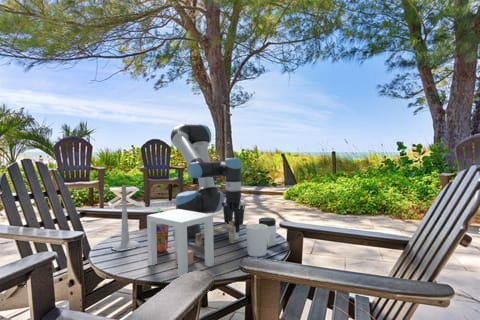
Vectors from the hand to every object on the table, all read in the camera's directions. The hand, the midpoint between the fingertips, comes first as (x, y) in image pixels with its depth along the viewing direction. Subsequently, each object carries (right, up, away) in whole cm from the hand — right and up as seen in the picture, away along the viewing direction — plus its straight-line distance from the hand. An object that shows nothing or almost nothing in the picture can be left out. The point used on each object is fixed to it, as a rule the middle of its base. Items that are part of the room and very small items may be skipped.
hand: (233, 238), depth 145 cm
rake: (-7, -2, -8) cm, 11 cm away
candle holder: (+11, -3, -14) cm, 18 cm away
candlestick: (-52, -4, -2) cm, 52 cm away
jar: (+16, -3, 0) cm, 17 cm away
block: (-19, -4, -24) cm, 31 cm away
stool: (-21, -4, -26) cm, 33 cm away
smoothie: (-33, -4, -9) cm, 35 cm away
